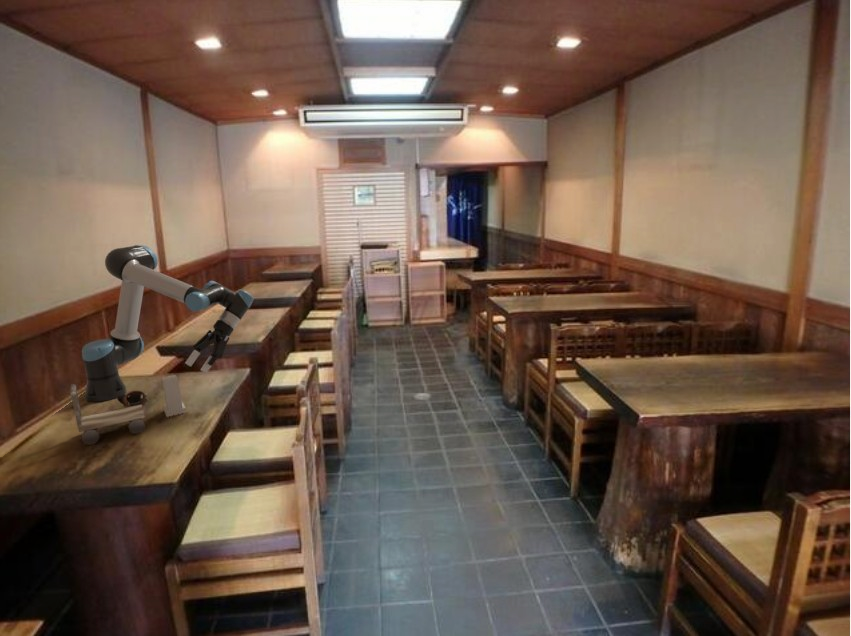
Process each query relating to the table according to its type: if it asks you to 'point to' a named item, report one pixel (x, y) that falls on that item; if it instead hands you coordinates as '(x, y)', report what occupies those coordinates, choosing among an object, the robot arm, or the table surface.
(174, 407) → the grey pillar on base
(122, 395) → the broken clay pot
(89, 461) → the table surface
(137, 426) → the trolley
